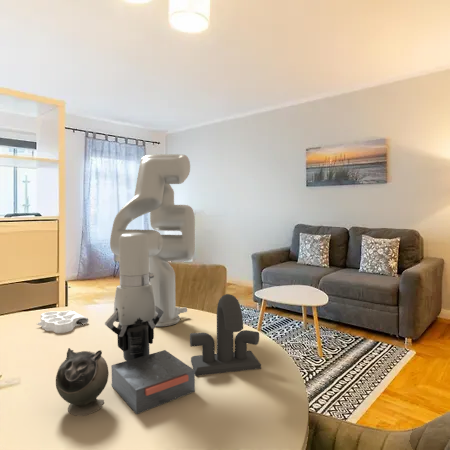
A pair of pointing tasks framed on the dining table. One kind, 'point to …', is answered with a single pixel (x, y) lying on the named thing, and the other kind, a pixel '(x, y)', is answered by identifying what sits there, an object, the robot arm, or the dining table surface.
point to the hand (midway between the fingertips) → (136, 345)
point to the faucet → (225, 342)
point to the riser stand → (152, 380)
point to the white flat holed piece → (61, 321)
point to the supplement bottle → (136, 340)
